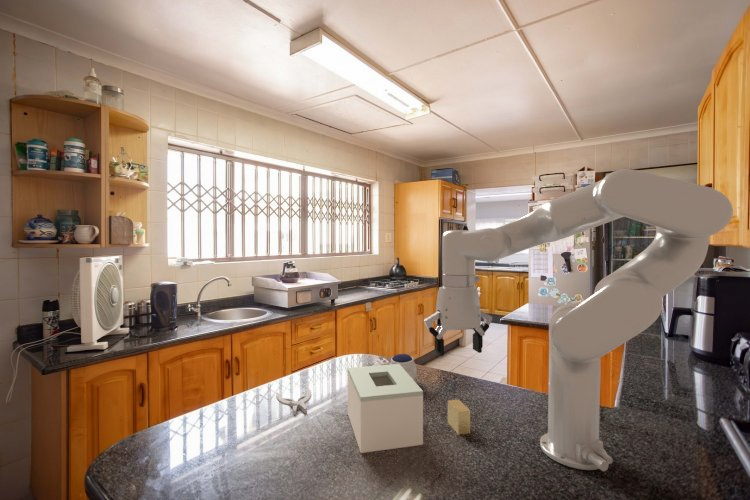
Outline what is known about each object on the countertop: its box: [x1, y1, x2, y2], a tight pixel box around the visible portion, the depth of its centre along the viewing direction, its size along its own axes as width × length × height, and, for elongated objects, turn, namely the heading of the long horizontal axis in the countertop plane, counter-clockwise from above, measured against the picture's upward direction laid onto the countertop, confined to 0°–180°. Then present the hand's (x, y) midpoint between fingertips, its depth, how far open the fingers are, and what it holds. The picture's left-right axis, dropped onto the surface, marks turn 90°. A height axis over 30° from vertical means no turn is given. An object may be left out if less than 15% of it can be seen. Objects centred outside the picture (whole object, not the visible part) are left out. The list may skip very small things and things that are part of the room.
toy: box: [366, 353, 418, 381], centre depth 111 cm, size 18×9×20 cm
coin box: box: [347, 364, 424, 454], centre depth 87 cm, size 18×14×12 cm
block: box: [447, 398, 471, 436], centre depth 87 cm, size 6×3×6 cm, turn 13°
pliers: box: [275, 387, 312, 416], centre depth 101 cm, size 10×2×15 cm
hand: (458, 352), depth 87 cm, fingers open, 9 cm apart
